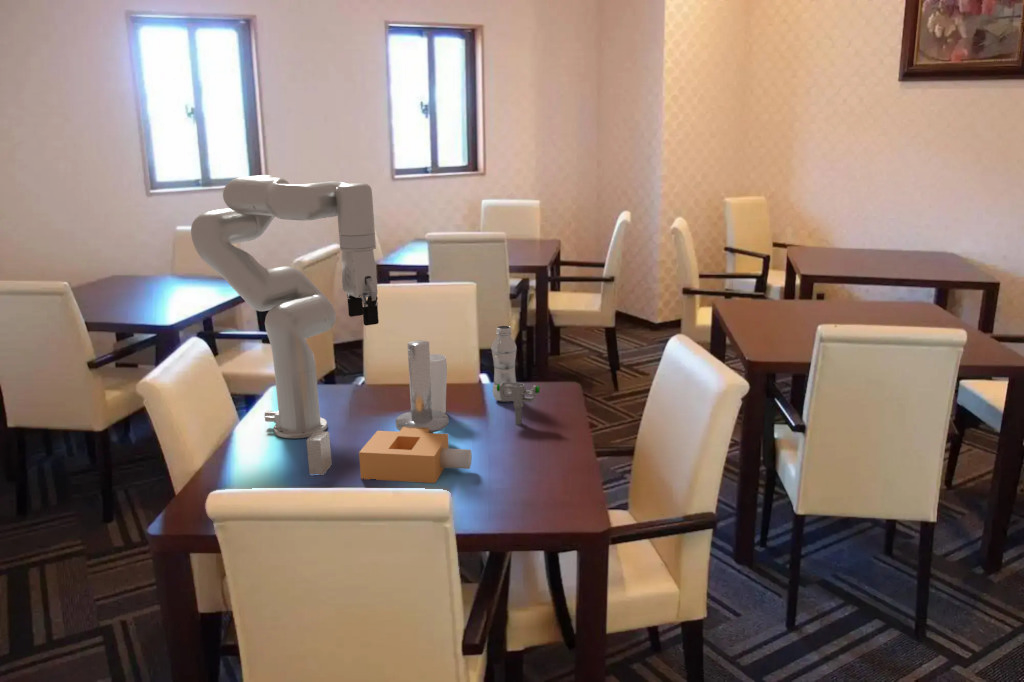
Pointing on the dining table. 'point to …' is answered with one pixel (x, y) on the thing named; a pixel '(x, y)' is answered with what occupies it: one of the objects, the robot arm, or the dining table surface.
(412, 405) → the post
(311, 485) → the dining table surface
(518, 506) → the dining table surface
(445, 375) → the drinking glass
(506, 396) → the mechanical component
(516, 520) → the dining table surface
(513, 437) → the dining table surface
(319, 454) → the white block
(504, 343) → the plastic bottle
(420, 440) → the bracket head
